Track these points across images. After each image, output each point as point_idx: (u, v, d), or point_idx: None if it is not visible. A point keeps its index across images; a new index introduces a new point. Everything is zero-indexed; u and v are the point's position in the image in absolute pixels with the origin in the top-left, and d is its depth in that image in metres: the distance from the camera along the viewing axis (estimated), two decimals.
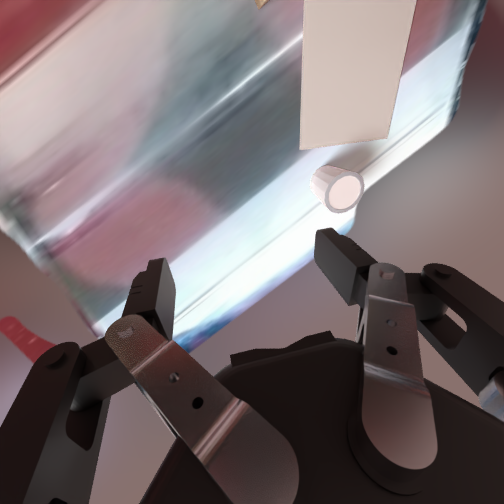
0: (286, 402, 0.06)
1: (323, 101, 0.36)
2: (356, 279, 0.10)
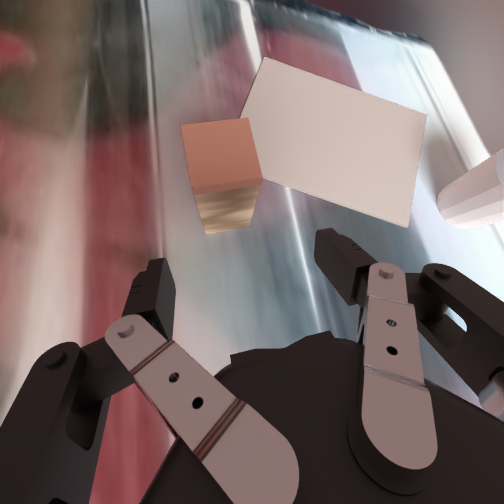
0: (286, 403, 0.06)
1: (360, 181, 0.27)
2: (356, 279, 0.10)
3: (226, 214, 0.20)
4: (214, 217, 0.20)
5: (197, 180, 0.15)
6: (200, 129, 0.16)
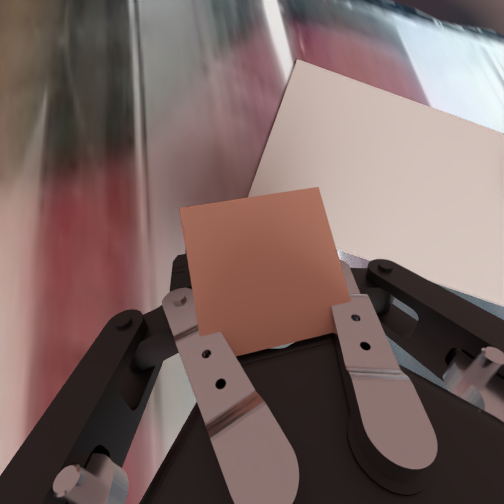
0: (286, 402, 0.06)
1: (438, 239, 0.19)
2: None
3: None
4: None
5: None
6: (221, 217, 0.07)
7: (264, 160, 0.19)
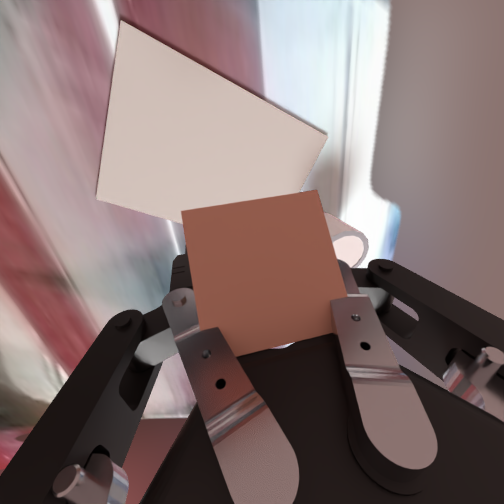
0: (286, 402, 0.06)
1: None
2: None
3: None
4: None
5: None
6: (222, 220, 0.07)
7: (105, 154, 0.24)
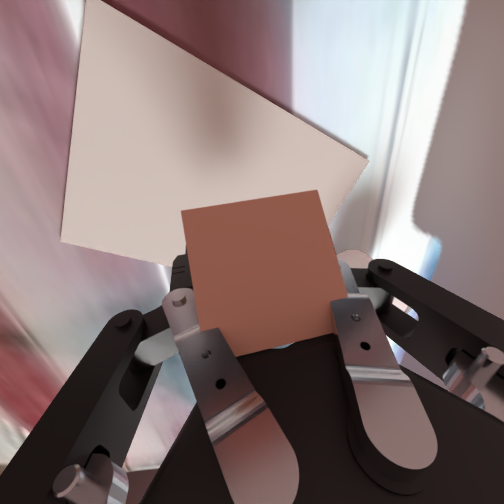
0: (285, 403, 0.06)
1: None
2: None
3: None
4: None
5: None
6: (222, 219, 0.07)
7: (71, 184, 0.17)
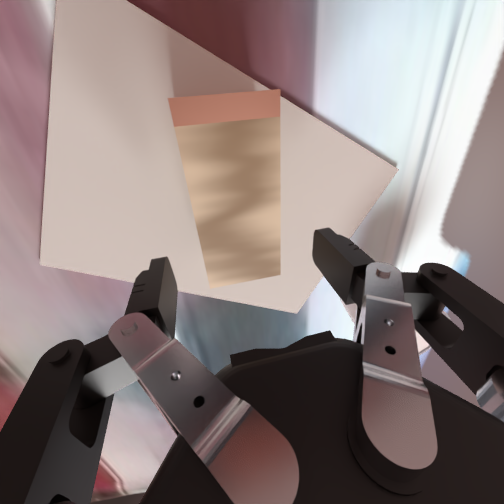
0: (286, 402, 0.06)
1: None
2: (353, 278, 0.10)
3: (235, 216, 0.13)
4: (217, 225, 0.13)
5: None
6: None
7: (49, 199, 0.14)
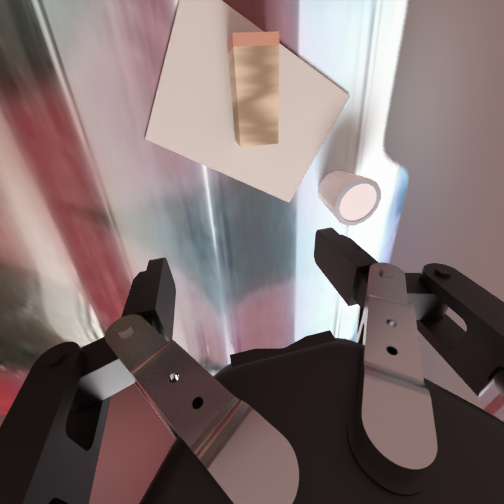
0: (286, 402, 0.06)
1: (264, 164, 0.34)
2: (356, 279, 0.10)
3: (256, 99, 0.26)
4: (247, 104, 0.26)
5: None
6: None
7: (158, 96, 0.27)
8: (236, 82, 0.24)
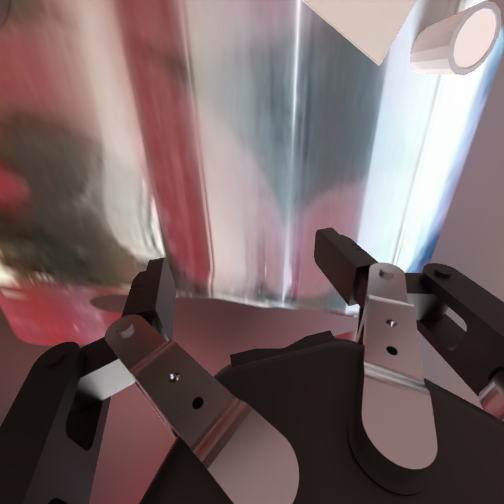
0: (286, 403, 0.06)
1: (363, 4, 0.30)
2: (356, 279, 0.10)
3: None
4: None
5: None
6: None
7: None
8: None
